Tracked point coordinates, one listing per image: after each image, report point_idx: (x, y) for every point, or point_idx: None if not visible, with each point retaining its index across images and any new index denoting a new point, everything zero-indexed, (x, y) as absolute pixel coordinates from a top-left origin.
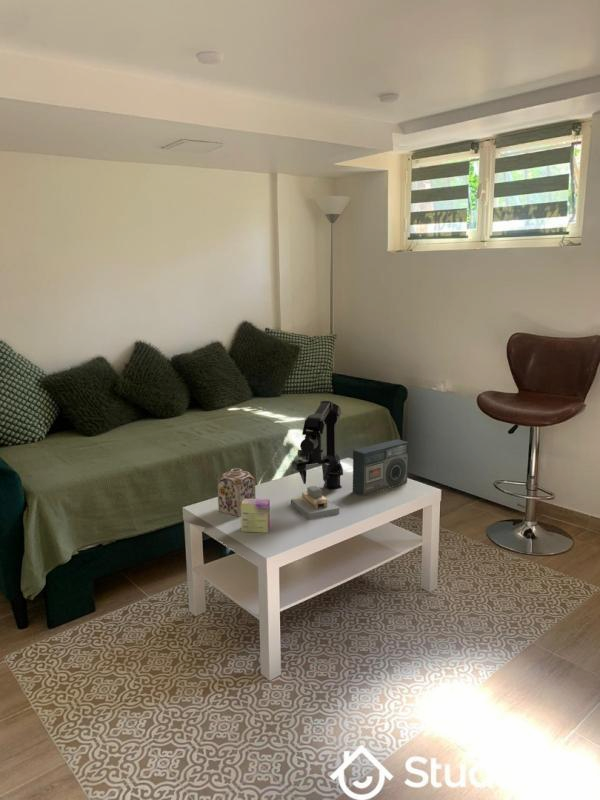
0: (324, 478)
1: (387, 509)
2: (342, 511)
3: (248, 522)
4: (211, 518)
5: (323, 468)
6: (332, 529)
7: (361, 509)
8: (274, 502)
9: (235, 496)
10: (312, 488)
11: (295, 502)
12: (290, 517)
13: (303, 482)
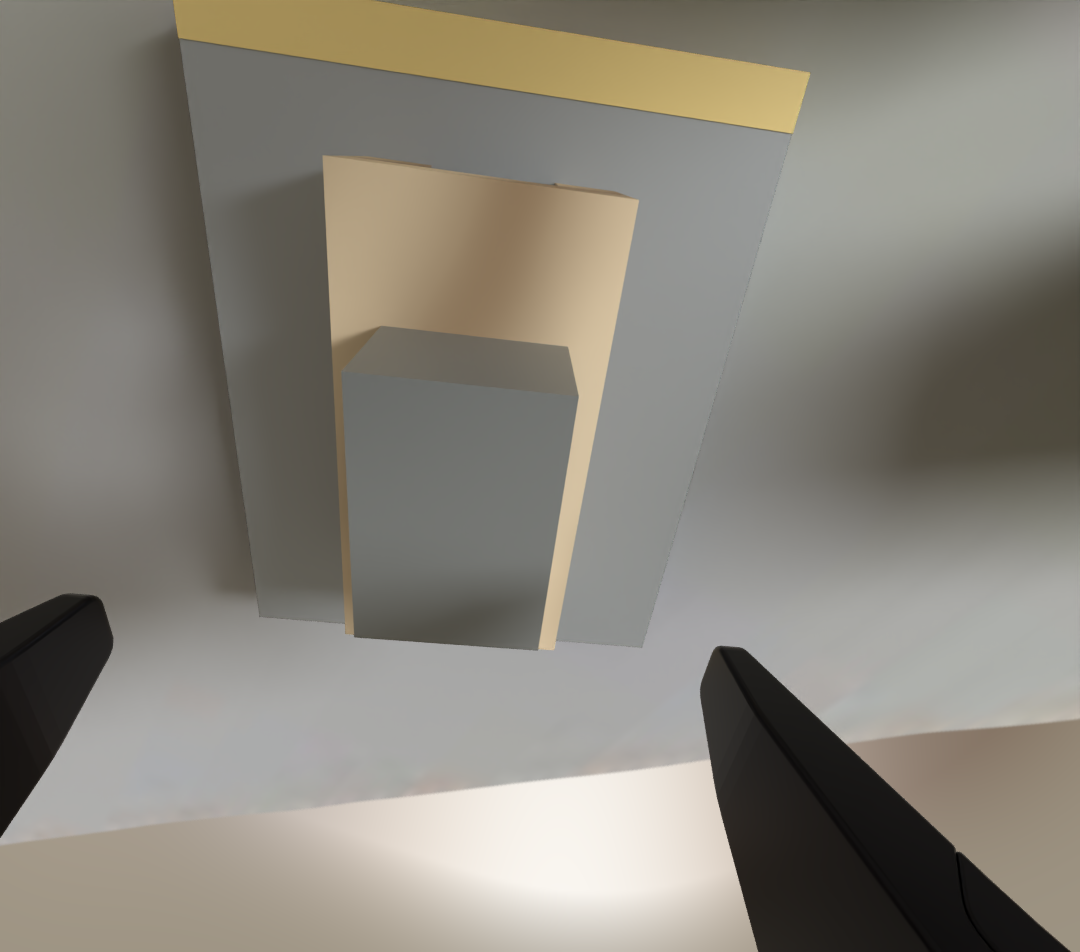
0: (715, 769)
1: (1029, 714)
2: (697, 578)
3: None
4: None
5: None
6: (388, 778)
7: (875, 624)
8: None
9: None
10: (419, 492)
11: (211, 205)
12: (98, 439)
13: (32, 627)
